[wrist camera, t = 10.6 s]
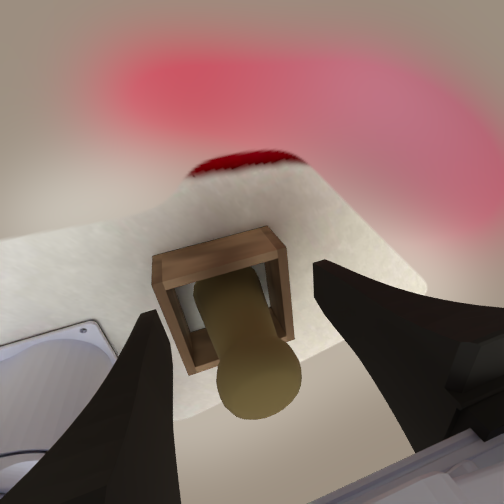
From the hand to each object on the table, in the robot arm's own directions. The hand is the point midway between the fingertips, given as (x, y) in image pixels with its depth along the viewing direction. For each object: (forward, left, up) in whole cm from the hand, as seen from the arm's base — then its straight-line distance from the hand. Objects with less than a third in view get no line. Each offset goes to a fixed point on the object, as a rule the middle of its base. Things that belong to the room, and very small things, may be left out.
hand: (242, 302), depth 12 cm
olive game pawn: (0, -7, -11) cm, 13 cm away
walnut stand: (0, -7, -10) cm, 12 cm away
